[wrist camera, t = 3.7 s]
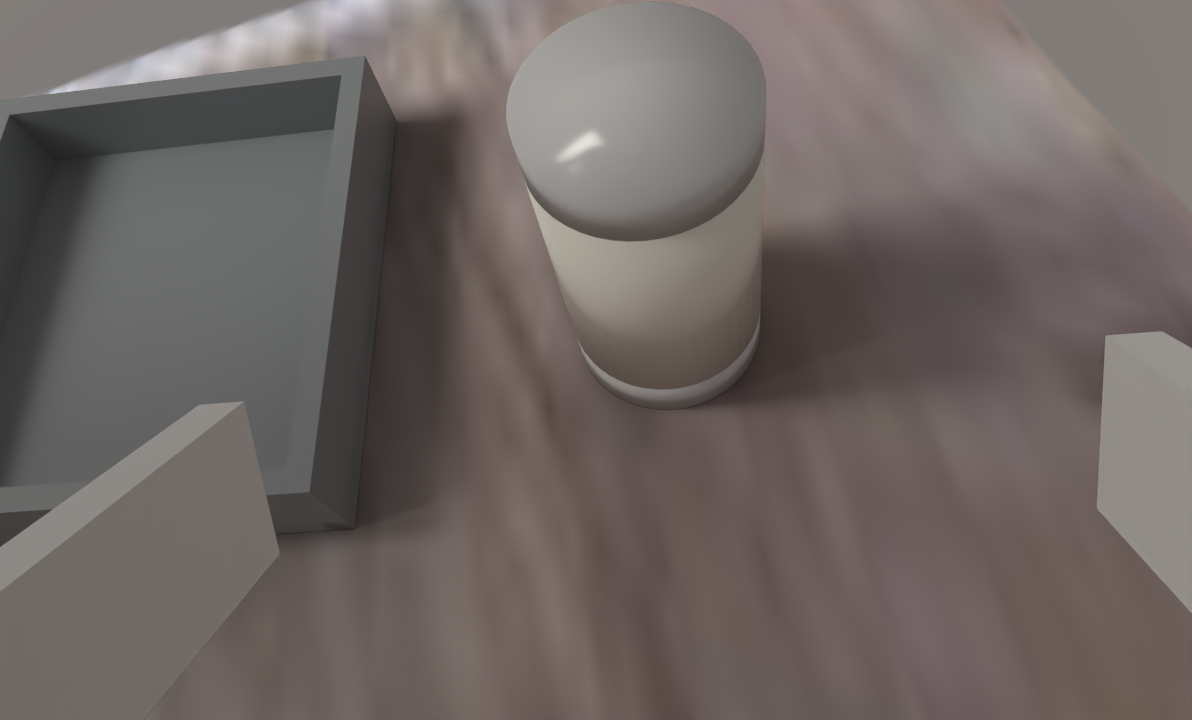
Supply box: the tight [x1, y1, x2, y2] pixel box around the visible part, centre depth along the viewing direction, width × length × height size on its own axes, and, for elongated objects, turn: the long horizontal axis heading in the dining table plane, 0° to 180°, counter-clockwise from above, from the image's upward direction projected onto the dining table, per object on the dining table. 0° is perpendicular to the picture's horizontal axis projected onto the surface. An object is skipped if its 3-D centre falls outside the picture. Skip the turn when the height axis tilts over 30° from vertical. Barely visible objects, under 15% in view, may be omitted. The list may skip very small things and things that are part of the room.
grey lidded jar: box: [506, 2, 766, 410], centre depth 27 cm, size 6×6×11 cm
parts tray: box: [0, 56, 396, 547], centre depth 33 cm, size 15×17×4 cm
